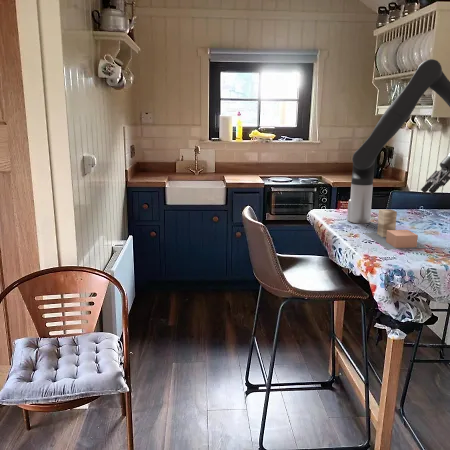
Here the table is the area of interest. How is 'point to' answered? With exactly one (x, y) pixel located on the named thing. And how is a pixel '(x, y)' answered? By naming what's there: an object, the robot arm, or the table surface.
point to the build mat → (383, 242)
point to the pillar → (386, 221)
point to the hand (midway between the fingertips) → (426, 192)
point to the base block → (401, 238)
